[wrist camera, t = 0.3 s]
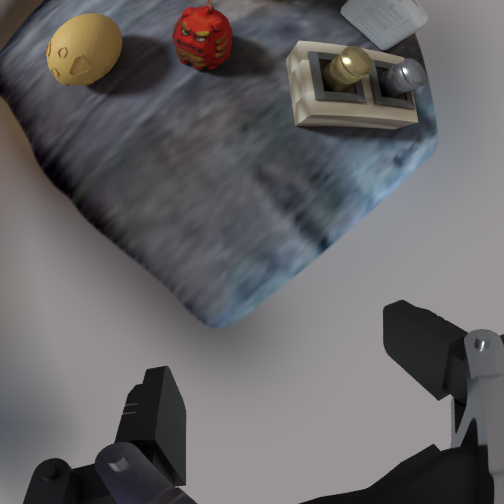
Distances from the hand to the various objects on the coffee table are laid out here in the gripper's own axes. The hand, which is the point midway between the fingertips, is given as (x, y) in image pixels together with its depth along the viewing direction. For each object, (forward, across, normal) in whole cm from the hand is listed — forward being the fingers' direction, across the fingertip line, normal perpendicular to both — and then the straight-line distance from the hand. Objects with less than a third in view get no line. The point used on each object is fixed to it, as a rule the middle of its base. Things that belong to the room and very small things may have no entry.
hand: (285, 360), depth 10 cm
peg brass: (+24, -16, -17) cm, 33 cm away
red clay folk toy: (+29, -2, -26) cm, 39 cm away
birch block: (+28, -20, -17) cm, 39 cm away
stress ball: (+29, +13, -28) cm, 42 cm away
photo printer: (+29, -28, -29) cm, 50 cm away
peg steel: (+24, -24, -16) cm, 38 cm away
